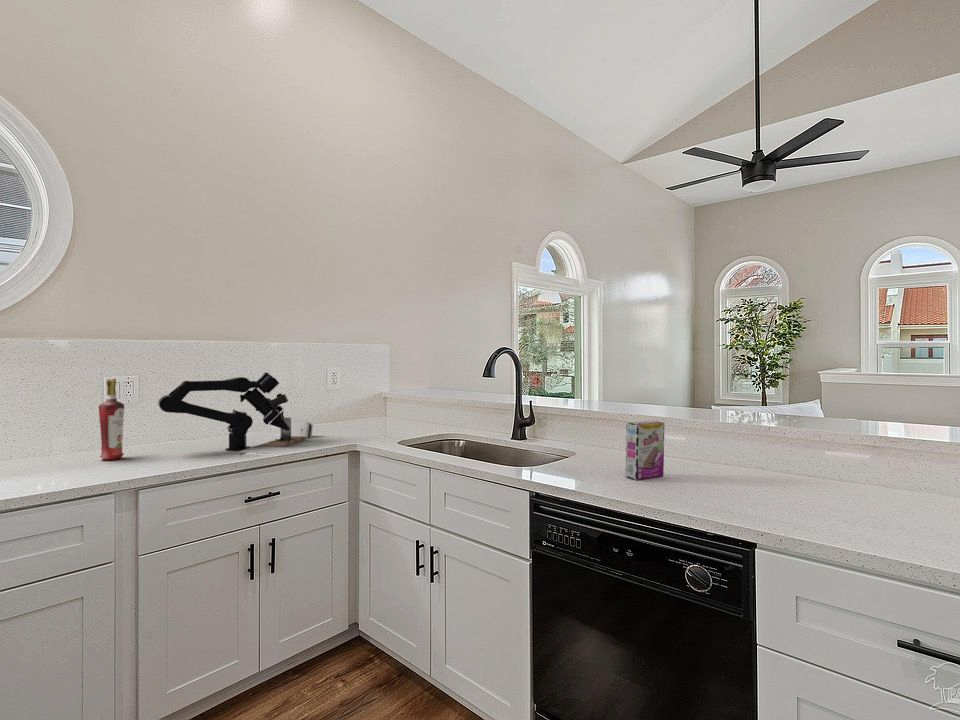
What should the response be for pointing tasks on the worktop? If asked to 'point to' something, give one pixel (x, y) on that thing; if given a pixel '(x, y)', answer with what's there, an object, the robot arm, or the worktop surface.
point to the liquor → (111, 424)
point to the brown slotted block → (286, 442)
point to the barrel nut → (286, 434)
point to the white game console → (298, 429)
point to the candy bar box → (644, 450)
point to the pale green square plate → (313, 444)
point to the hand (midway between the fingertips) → (289, 429)
